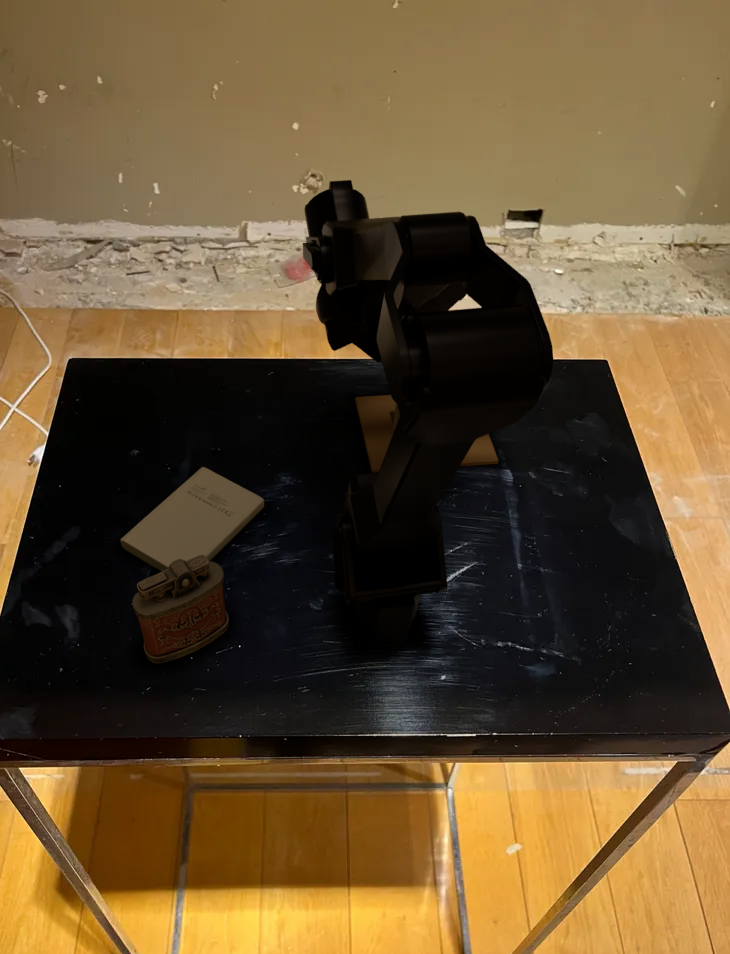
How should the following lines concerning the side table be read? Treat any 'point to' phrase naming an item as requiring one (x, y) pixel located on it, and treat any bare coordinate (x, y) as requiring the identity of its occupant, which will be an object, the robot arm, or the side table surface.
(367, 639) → the robot arm
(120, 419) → the side table surface
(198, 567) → the lighter
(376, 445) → the board
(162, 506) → the hard drive
